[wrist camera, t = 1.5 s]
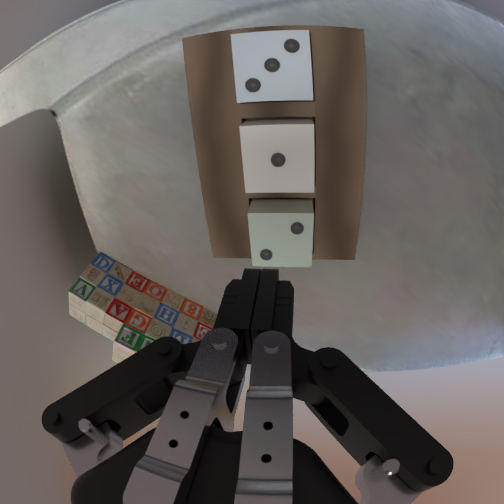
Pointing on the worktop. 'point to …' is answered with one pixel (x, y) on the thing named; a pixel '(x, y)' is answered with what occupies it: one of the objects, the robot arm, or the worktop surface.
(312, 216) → the key
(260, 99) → the key
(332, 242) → the key panel
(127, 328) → the stack of blocks
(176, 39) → the worktop surface
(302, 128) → the key
